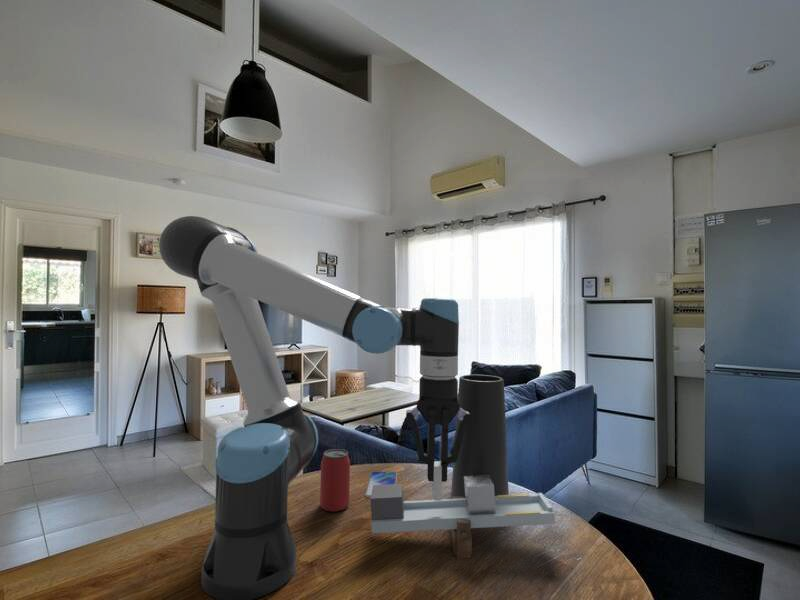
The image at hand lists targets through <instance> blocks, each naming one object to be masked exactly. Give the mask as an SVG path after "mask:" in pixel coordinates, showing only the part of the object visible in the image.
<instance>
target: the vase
mask: <svg viewBox="0 0 800 600" xmlns="http://www.w3.org/2000/svg"><path fill="white" fill-rule="evenodd" d="M458 402H459V404H460V408H462V409H463V410H464V411H468V412H469V413H470V415H471V419H470V421H469V422H468V424H467V425H466V427H465V431H464V435H463V439H462V443H461V447H460V451H459V454H458V458H457V461H456V462H455V463H453V462H452V477H451V490H450V495H451V496H450V497H451V498H450V499H452V496H462V497H464V498H465V484H464V476H478V475H489V476H490V478H491V481H492V483H493V485H494V495H495V496H497V495H510V494H509V492H510V491H509V490H510V488H509V468H508V464H509V463H508V447H507V446H508V443H507V425H506V424H507V422H506V398H505V380H504V378H503V377H500V376H496V375H488V374H487V375H486V374H466V375H465V374H464V375H461V376H459V379H458ZM458 421H459V419H458V413H457V414H456V421H455V429H456V428H457V424H458Z"/></svg>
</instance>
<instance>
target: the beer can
mask: <svg viewBox="0 0 800 600" xmlns="http://www.w3.org/2000/svg"><path fill="white" fill-rule="evenodd" d="M350 476H351V459H350V457H349V451H347V450H346V449H341V448H333V449H328V450H325V451H324V452H323V456H322V459H321V462H320V490H319V493H320V494H319V500H320V501H319V505H320V507H321V508H322V509H323V510H325V511H327V512H332V513H334V512H341V511H343V510H345V509H347V507H348V506H349V504H350V492H351V491H350V484H351V481H350V480H351V477H350Z"/></svg>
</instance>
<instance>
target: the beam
mask: <svg viewBox="0 0 800 600" xmlns="http://www.w3.org/2000/svg"><path fill="white" fill-rule="evenodd" d="M404 498H405V497H404V485H403V483H396V484H386V485H373V489H372V493H371V498H369V499H370V513H371V514H370V515H371V522H370V524H371V534H385V533H388V534H389V533H402V532H403V533H404V532H405V533H406V532H422V531H423V532H424V531H440V530H441V531H445V530H450V529H457V520H470V522H471V529H478V528H479V529H480V528H481V529H482V528H501V527H504V528H505V527H519V526H523V527H524V526H536V525H537V526H538V525H539V526H540V525H555V524H556V521H555V520H556V519H555V512H554V509H553V506H552V504H550V502H549V501H548V499H547V498H546V497H545V495H544V494H543V493H542V492H537V493H535V494H529V493H518V494H517V493H516V494H515V493H514V494H509V495H497V496H495V509H496V514H483V515H468V512H467V508H466V499H465V498H457V499H452V498H443V499H442V498H441V501H434V500H433V499H425V500H424V499H423V500H421V499H419V500H404Z"/></svg>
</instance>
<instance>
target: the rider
mask: <svg viewBox="0 0 800 600" xmlns="http://www.w3.org/2000/svg"><path fill="white" fill-rule="evenodd" d="M464 484H465V499H466V508H467V512H468V515H483V514H496V509H495V495H494V485H493V483H492V481H491V478H490V476H489V475H478V476H464Z"/></svg>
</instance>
